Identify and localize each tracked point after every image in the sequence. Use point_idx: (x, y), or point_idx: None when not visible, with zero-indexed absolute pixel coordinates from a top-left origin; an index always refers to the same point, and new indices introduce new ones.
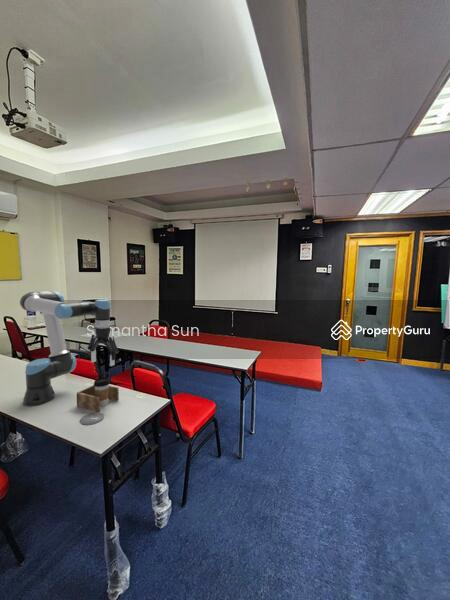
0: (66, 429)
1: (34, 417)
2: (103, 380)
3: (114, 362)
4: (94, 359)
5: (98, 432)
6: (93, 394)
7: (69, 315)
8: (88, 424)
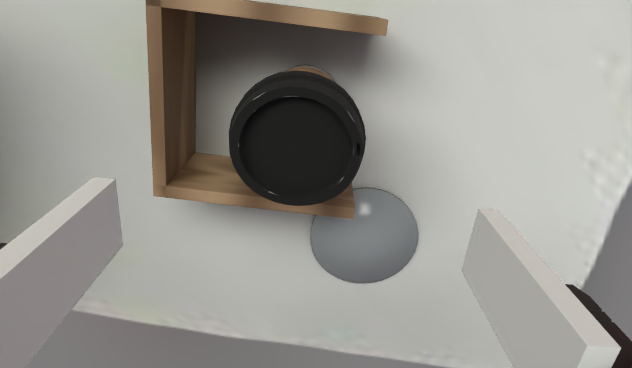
0: (315, 319)
1: (99, 289)
2: (303, 133)
3: (514, 231)
4: (100, 226)
5: (461, 305)
6: (186, 54)
7: None
8: (382, 277)
